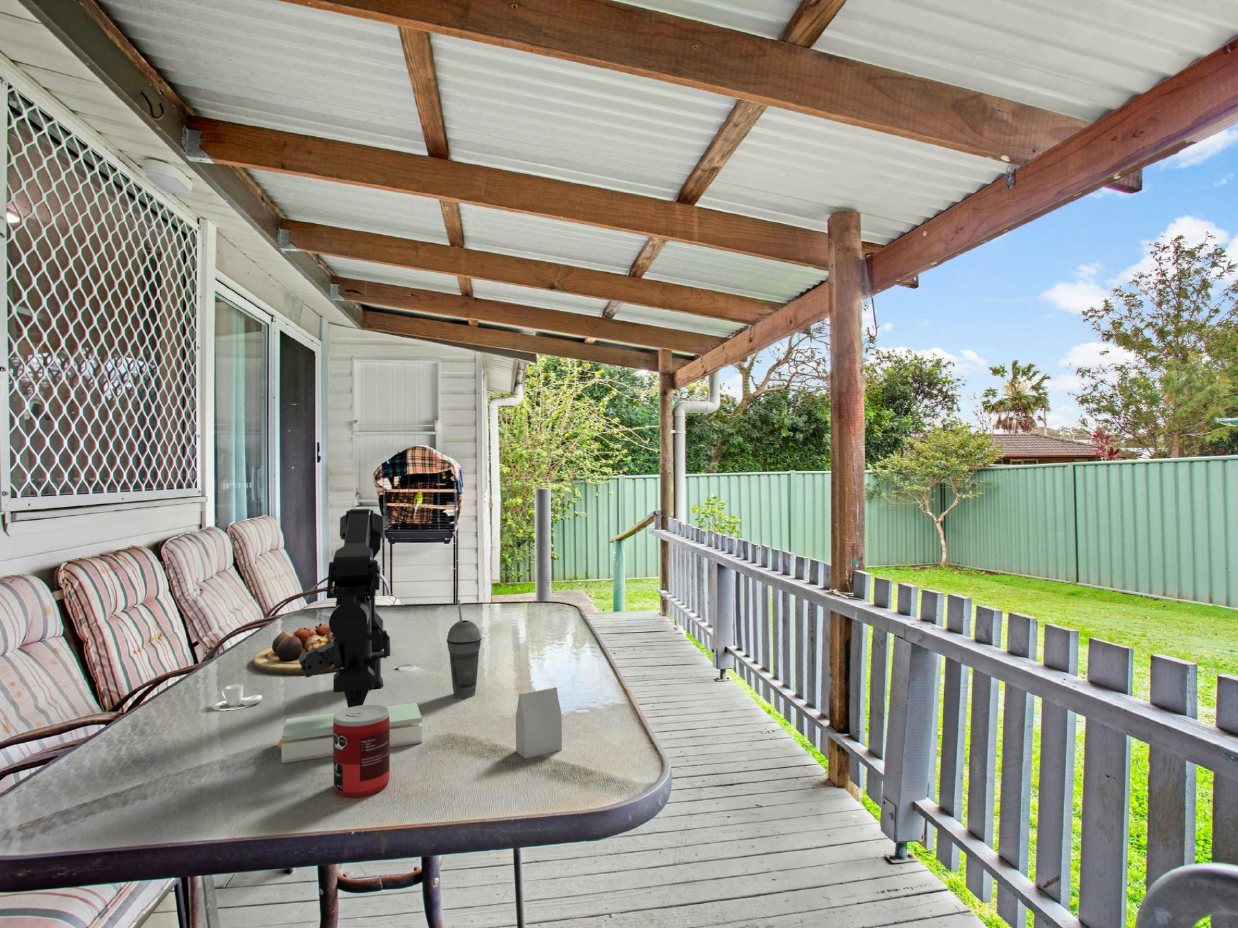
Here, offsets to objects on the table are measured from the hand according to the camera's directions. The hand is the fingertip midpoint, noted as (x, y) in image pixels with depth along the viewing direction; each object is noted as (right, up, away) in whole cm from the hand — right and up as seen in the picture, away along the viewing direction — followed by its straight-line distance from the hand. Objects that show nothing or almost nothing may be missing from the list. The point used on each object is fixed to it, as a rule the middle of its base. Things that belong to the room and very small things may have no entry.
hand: (354, 718), depth 119 cm
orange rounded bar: (-1, -5, +2) cm, 5 cm away
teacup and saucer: (-32, -6, +20) cm, 38 cm away
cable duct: (-1, -5, +2) cm, 5 cm away
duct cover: (-1, -1, +2) cm, 3 cm away
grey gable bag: (+32, -5, -2) cm, 33 cm away
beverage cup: (+13, -5, +28) cm, 31 cm away
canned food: (+7, -5, -15) cm, 18 cm away
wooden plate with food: (-31, -7, +59) cm, 67 cm away
